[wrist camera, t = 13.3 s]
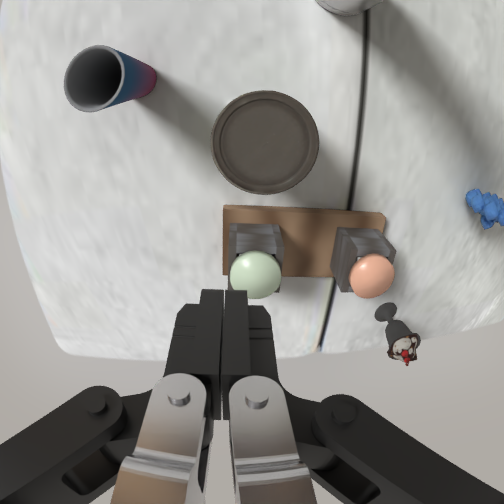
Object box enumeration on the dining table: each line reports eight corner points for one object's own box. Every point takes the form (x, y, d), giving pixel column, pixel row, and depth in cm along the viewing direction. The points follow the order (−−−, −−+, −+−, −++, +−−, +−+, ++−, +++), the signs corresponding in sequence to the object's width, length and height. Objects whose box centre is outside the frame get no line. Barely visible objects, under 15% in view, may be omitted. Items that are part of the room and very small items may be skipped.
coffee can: (235, 81, 37) (233, 74, 25) (306, 108, 39) (336, 116, 27) (209, 149, 41) (195, 175, 29) (278, 173, 44) (294, 209, 31)
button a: (230, 267, 47) (229, 298, 40) (231, 229, 44) (230, 255, 37) (273, 268, 47) (278, 299, 41) (277, 230, 44) (283, 257, 38)
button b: (333, 269, 48) (347, 298, 41) (341, 232, 45) (357, 258, 38) (370, 270, 48) (387, 297, 42) (379, 234, 45) (399, 259, 38)
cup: (160, 103, 38) (121, 111, 25) (115, 103, 37) (62, 114, 24) (165, 57, 34) (128, 42, 21) (119, 58, 34) (66, 49, 21)
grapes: (444, 211, 47) (484, 242, 37) (454, 175, 44) (498, 201, 33) (484, 219, 48) (521, 249, 38) (494, 188, 45) (534, 213, 34)
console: (223, 268, 51) (220, 302, 43) (223, 204, 46) (220, 231, 38) (367, 270, 52) (385, 302, 44) (381, 212, 47) (405, 238, 39)
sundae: (371, 302, 56) (400, 359, 43) (402, 296, 56) (435, 349, 43) (368, 327, 59) (393, 383, 46) (397, 320, 59) (426, 373, 46)
